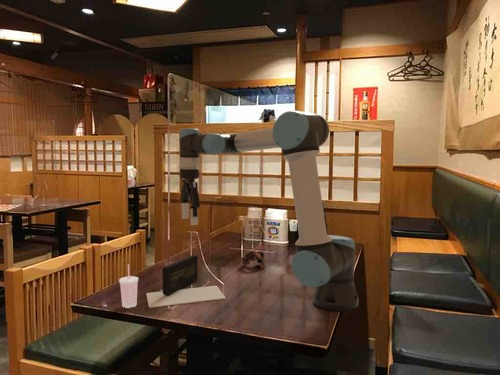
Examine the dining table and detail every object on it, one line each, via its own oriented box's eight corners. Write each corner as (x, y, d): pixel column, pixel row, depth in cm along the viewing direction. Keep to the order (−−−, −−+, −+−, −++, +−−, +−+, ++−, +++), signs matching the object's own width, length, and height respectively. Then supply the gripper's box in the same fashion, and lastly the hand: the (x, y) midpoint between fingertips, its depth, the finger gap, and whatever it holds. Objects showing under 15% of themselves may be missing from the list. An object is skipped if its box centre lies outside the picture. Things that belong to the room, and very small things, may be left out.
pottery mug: (260, 272, 169) (251, 256, 168) (245, 278, 174) (235, 262, 174) (272, 259, 179) (263, 243, 178) (257, 264, 184) (248, 249, 184)
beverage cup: (119, 309, 128) (118, 267, 127) (120, 302, 134) (119, 262, 133) (139, 307, 130) (138, 266, 129) (138, 300, 136) (137, 261, 135)
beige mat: (225, 299, 138) (225, 297, 138) (148, 308, 130) (148, 307, 130) (216, 286, 150) (216, 285, 150) (146, 294, 142) (146, 293, 142)
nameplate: (167, 296, 139) (166, 268, 138) (162, 295, 139) (162, 267, 139) (197, 279, 158) (197, 254, 157) (193, 279, 159) (193, 254, 158)
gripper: (208, 170, 145) (208, 227, 148) (190, 166, 168) (190, 215, 170) (188, 170, 142) (188, 228, 144) (172, 166, 165) (173, 216, 167)
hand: (189, 221), depth 157 cm, fingers open, 13 cm apart
